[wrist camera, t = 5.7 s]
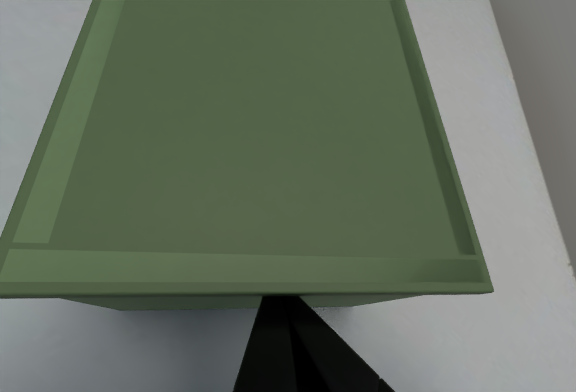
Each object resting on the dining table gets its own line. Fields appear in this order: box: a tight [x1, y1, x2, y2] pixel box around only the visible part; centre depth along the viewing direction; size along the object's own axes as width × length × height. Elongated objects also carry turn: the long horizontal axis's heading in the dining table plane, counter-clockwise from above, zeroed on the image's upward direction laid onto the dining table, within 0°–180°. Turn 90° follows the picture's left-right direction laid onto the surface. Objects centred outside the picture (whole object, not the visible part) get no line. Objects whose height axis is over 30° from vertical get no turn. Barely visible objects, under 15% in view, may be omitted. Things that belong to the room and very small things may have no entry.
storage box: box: [0, 0, 494, 310], centre depth 14 cm, size 16×12×9 cm
